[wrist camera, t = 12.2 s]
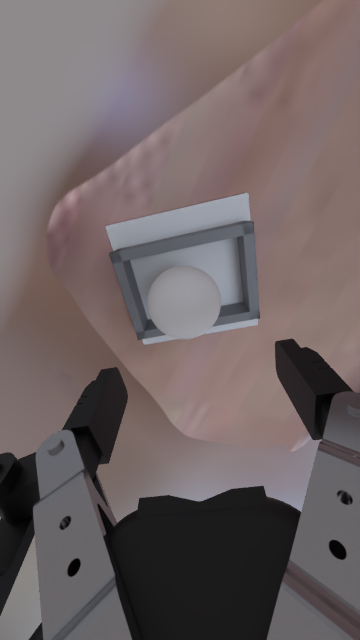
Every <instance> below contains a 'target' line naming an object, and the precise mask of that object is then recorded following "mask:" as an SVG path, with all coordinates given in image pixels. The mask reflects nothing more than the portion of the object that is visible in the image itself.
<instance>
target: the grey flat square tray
mask: <svg viewBox="0 0 360 640" xmlns="http://www.w3.org/2000/svg"><path fill="white" fill-rule="evenodd" d="M105 227H106V230H107V233H108V236H109V240H110V243H111V246H112V249H113V252H111V253H110V257H111V260H112V263H113V266H114V269H115V272H116V275H117V278H118V281H119V284H120V287H121V290H122V293H123V296H124V299H125V302H126V305H127V308H128V311H129V314H130V317H131V320H132V323H133V326H134V329H135V332H136V335H137V338H138V340H141V339H142V340H143V344H144V345H147V344H152V343H158V342H164V341H169V340H175V339H177V338H173V337H170V336H168V335H166V334H164V333H163V332H161V331H160V330H159V329H158V328H157V327H156V325H155V324H154V322H153V321H152V319H151V317H150V314H149V310H148V294H149V291H150V288H151V286H152V284H153V282H154V281H155V280H156V278H157V277H158V276H159V275H160V274H162V273H163V272H165V271H166V270H168V269H170V268H173V267H177V266H191V267H195V268H198V269H200V270H202V271H204V272H206V273H207V274H208V275H209V276H211V278H212V279H213V280H214V281H215V283H216V285H217V287H218V289H219V292H220V296H221V308H220V313H219V316H218V318H217V320H216V322H215V323H214V325H213V326H212V327H211V328H210V329H209V330H208V331H207V332H206V333H204V334H209V333H215V332H220V331H226V330H232V329H237V328H243V327H249V326H254V325H258V320H257V319H258V318H260V312H259V297H258V282H257V267H256V252H255V236H254V222H252V221H250V208H249V194H248V193H244V194H239V195H235V196H231V197H227V198H222V199H218V200H214V201H210V202H205V203H201V204H197V205H193V206H188V207H184V208H180V209H176V210H171V211H167V212H163V213H159V214H154V215H150V216H146V217H142V218H137V219H133V220H129V221H125V222H120V223H116V224H112V225H108V226H105Z"/></svg>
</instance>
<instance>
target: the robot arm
mask: <svg viewBox="0 0 360 640" xmlns="http://www.w3.org/2000/svg"><path fill="white" fill-rule="evenodd" d="M275 359H276V371H277V375H278V378H279V380H280V382H281V384H282V386H283V387H284V389H285V391H286V393H287V394H288V396H289V398H290V400H291V402H292V403H293V405H294V407H295V409H296V411H297V412H298V414H299V416H300V418H301V420H302V421H303V423H304V425H305V427H306V429H307V430H308V432H309V434H310V436H311V438H312V439H313V440H319V439H322V442H320V443H319V446H318V449H317V453H316V458H315V461H314V465H313V469H312V473H311V477H310V481H309V485H308V488H307V493H306V496H305V500H304V504H303V508H302V512H300V511H299V510H297V509H296V508H294V507H292V506H291V505H289V504H287V503H284V502H282V501H280V500H277V499H274V498H270V497H266V493H265V490H264V486H258V487H248V488H238V489H231V490H228V491H226V492H223V493H221V494H218V495H216V496H214V497H212V498H209V499H207V500H204V501H200V502H197V501H193V500H188V499H183V498H179V497H174V496H170V495H166V496H157V497H146V498H140V499H139V504H138V510H136V511H134V512H132V513H131V514H129V515H127V516H126V517H124V518H123V519H122V520H120V521H119V522H118V523H117V521H116V519H115V517H114V515H113V513H112V510H111V507H110V505H109V502H108V500H107V497H106V495H105V492H104V490H103V487H102V484H101V482H100V479H99V477H98V474H97V472H96V471H97V468H98V465H99V464H107V463H109V461H110V457H111V454H112V451H113V447H114V444H115V441H116V437H117V434H118V430H119V427H120V424H121V420H122V417H123V414H124V411H125V407H126V404H127V399H128V394H127V390H126V387H125V384H124V382H123V379H122V377H121V374H120V372H119V370H118V368H117V367H114V368H108V369H102V370H101V371H100V373H99V375H98V376H97V378H96V380H95V381H92V382H91V383H90V384H89V385H88V386H87V387H86V388H85V389H84V391H83V393H82V395H81V398H79V400H78V402H77V405H76V406H75V407H74V409H73V411H72V413H71V414H70V417H69V418H68V420H67V422H66V424H65V425H64V427H63V429H62V431H58V432H56V433H54V434H52V435H51V436H50V437H48V438H47V439H46V440H45V441H44V442H43V443H42V444H41V446H40V447H39V448H38V450H37V452H35V453H33V454H30V455H28V456H26V457H23V458H21V459H18V460H17V458H16V457H15V456H14V455H13V454H12V453H3V454H0V517H1V520H0V615H1V613H2V611H3V608H4V606H5V603H6V601H7V599H8V596H9V594H10V592H11V589H12V587H13V584H14V582H15V579H16V577H17V575H18V572H19V570H20V567H21V565H22V563H23V561H24V558H25V556H26V554H27V551H28V548H29V546H30V544H31V542H32V539H33V537H34V534H35V542H36V555H37V567H38V578H39V592H40V604H41V616H42V622H41V624H40V625H39V626H38V628H37V629H36V630H35V632H34V633H33V635H32V636H31V637H30V639H29V640H360V393H357V392H353V390H352V389H351V388H350V387H349V386H348V385H347V384H346V383H345V382H344V381H343V380H342V379H341V378H340V376H339V375H338V374H337V373H336V372H335V371H334V370H333V369H332V368H330V366H329V365H328V364H327V362H325V361H324V359H323V358H322V357H321V356H320V355H319V354H318V353H317V352H315V351H313V350H311V349H309V348H308V347H304V348H300V346H299V345H298V344H297V343H296V342H295V340H294V339H287V340H281V341H276V342H275Z"/></svg>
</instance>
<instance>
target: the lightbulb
mask: <svg viewBox="0 0 360 640" xmlns="http://www.w3.org/2000/svg"><path fill="white" fill-rule="evenodd" d="M220 308H221V296H220V292H219V289H218V287H217V285H216V283H215V281H214V280H213V279H212V278H211V276H209V275H208V274H207V273H206V272H204V271H202V270H200V269H198V268H195V267H191V266H177V267H173V268H170V269H168V270H166V271H165V272H163V273H162V274H160V275H159V276H158V277H157V278H156V280H155V281H154V282H153V284H152V286H151V288H150V291H149V294H148V310H149V314H150V317H151V319H152V321H153V322H154V324H155V325H156V327H157V328H158V329H159V330H160V331H161V332H163V333H164V334H166V335H168V336H170V337H173V338H177V339H192V338H196V337H198V336H201V335H203V334H204V333H206V332H207V331H208V330H209V329H210V328H211V327H212V326H213V325H214V323H215V322H216V320H217V318H218V316H219V313H220Z"/></svg>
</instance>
